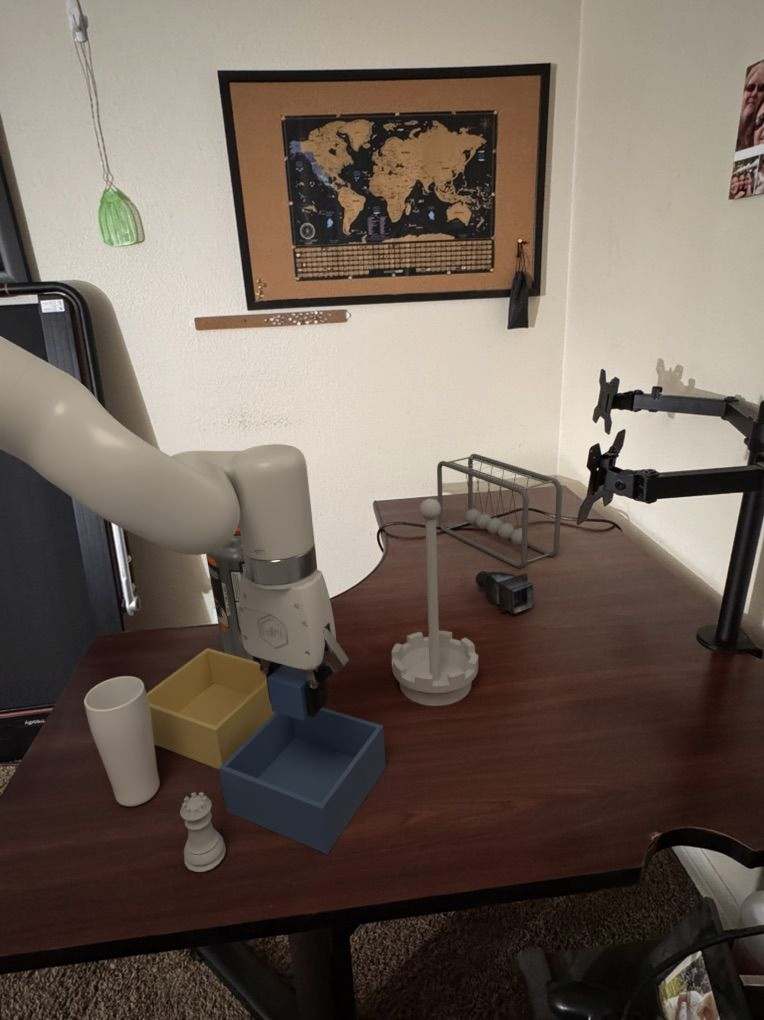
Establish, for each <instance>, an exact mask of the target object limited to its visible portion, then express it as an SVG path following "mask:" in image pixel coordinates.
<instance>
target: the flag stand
mask: <svg viewBox="0 0 764 1020" xmlns="http://www.w3.org/2000/svg"><path fill="white" fill-rule="evenodd" d="M440 512H441V506H440V504H439V502H438V499H434V498H426V499H424V500H423V501H422V502H421V503H420V505H419V513H420V515H421V516H422V518H424V523H425V555H426V557H425V559H426V561H425V562H426V585H427V586H426V587H427V590H426V591H427V623H428V624H427V625H428V636H425V637H424V634H423V633H422V632H421V631H418V632H414V633H411V634H407V635H406V642H405V643H403V644H401V643H397V642H396V643H395V644H394V646H393V647H392V649H391V671H392V675H393V676H394V678H395V679H396V680H397V681H398V682H399V689H400V691H401V693H402V694H403V695H404V696H405V697H406V698H407V699H408V700H411V701H412V702H415V703H417V704H420V705H424V706H428V707H429V706H431V707H442V706H448V705H452V704H455V703H457V702H460V701H461V700H463V699H464V698H465V697H466V696H467V695H468V694H469V693H470V691H471V689H472V682H473V680H474V679H475V678H476V677H477V675H478V671H479V654H477V653H476V647H475V646H476V645H475V643H473V642H472V640H470V639H468V638H467V637H463V638H462V639H460V640H458V639H455V638H453V632H452V631H447V630H440V625H439V623H440V622H439V583H438V582H439V581H438V580H439V579H438V540H437V539H438V537H437V519H438V516H439V514H440Z"/></svg>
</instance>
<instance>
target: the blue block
mask: <svg viewBox="0 0 764 1020" xmlns="http://www.w3.org/2000/svg"><path fill="white" fill-rule="evenodd" d="M315 670H316V671H318V669H317V668H316V669H315ZM267 680H268V687H269V694H270V701H271V708H272V711H274V712H277V713H280V714H283V715H287V716H290V717H293V718H296V719H299V720H302V721H305V720H306V718H307V717H308V713H307V705H306V697H305V687H306V686H307V685H308V682H307V679H306V676H305V673H304V670H302V669H298V668H294V667H290V666H287V665H283V664H282V665H281V666H280V667H279V668H278V669H277V670H276V671H275V672H274V673H273V674H272V675H270V676H269V677H268V678H267Z"/></svg>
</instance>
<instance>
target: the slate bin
mask: <svg viewBox="0 0 764 1020" xmlns="http://www.w3.org/2000/svg"><path fill="white" fill-rule="evenodd" d="M386 764H387V763H386V749H385V731H384V725H383V724H378V723H375V722H372V721H369V720H365V719H362V718H358V717H355V716H352V715H350V714H346V713H342V712H340V711H336V710H332V709H329V708H325V707H323V708H321V709H320V710H319V712H318V713H317V714H316V715H315V716H314V717H311V716H308V717H307V718H306V720H305V721H302V720H299V719H296V718H293V717H290V716H287V715H283V714H280V713H277V712H275V713H274V714H273V715H272V716H271V717H270V718H269V719H268V720H267V721H266V722H265V723H264V724H263V725H262V726H261V727H260V728H259V729H258V730H257V731H256V732H255V733H254V734H253V735H252V736H251V737H250V738H249V739H248V740H247V741H246V742H245V743H244V744H243V745H242V746H241V747H240V748H239V749H238V750H237V751H236V752H235V753H234V754H233V755H232V756H231V757H230V758H229V759H228V760H227V761H226V762H225V763H224V764H223V765H222V766H221V767H220V768H219V769H218V772H219V777H220V783H221V789H222V794H223V800H224V805H225V809H226V813H228V814H231V815H233V816H235V817H238V818H241V819H243V820H245V821H247V822H250V823H252V824H254V825H257V826H259V827H262V828H264V829H267V830H268V831H271V832H273V833H276V834H278V835H280V836H282V837H285V838H288V839H290V840H293V842H296V843H299V844H302V845H304V846H306V847H309V848H311V849H313V850H316V851H318V852H320V853H323V854H325V855H328V854H329V853H330V851H331V850H332V849H333V847H334V845H335V844H336V842H337V841H338V840H339V838H340V837H341V835H342V834H343V832H344V831H345V829H346V828H347V826H348V825H349V823H351V820H352V819H353V817H354V816H355V815H356V813H357V811H358V810H359V808H361V805H362V804H363V802H364V801H365V799H366V798H367V796H368V795H369V793H370V792H371V791H372V789H373V787H374V786H375V785H376V783H377V781H378V780H379V779H380V777H381V776H382V774H383V773H384V771H385V770H386V768H387V765H386Z"/></svg>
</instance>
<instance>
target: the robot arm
mask: <svg viewBox="0 0 764 1020" xmlns="http://www.w3.org/2000/svg"><path fill="white" fill-rule="evenodd" d="M0 450H1V451H3V452H5V453H7V454H9V455H11V456H13V457H15V458H17V459H19V460H20V461H22V462H24V463H25V464H27V465H28V466H29V467H31V468H33V470H34V471H36V472H37V473H38V474H39V475H40V476H41V477H43V478H44V479H45V480H46V481H48V482H49V483H50V484H52V485H54V486H55V487H56V488H58V489H60V490H61V491H62V492H64V493H65V494H66V495H67V496H69V497H71V498H72V499H73V500H75V501H76V502H78V504H80V505H82V506H83V507H84V508H86V509H87V510H89V511H90V512H92V513H94V514H95V515H97V516H98V517H101V518H102V519H104V520H106V521H108V522H110V524H113V525H115V526H117V527H119V528H121V529H123V530H125V531H127V532H129V533H132V534H134V535H136V536H138V537H140V538H143V539H144V540H146V541H148V542H150V543H153V544H155V545H157V546H159V547H162V548H163V549H167V550H169V551H173V552H175V553H179V554H183V555H189V556H190V555H192V556H201V555H206V554H208V553H211V552H214V551H216V550H218V549H220V548H222V547H223V546H224V545H225V544H227V543H228V542H229V541H230V539H231V538H232V537H233V536H234V534H235V532H236V530H237V528H238V525H239V526H240V533H241V540H242V545H241V546H240V547H239V550H238V553H239V556H241V557H244V561H245V568H246V570H245V571H244V572H243V573H242V574H241V580H240V590H239V613H240V626H241V635H240V637H239V641H240V643H241V644H242V645H243V646H244V649H245V650H246V652H248V653H249V654H250V655H252V656H253V657H254V658H255V660H256V661H257V662H258V663H259V664H260V671H261V672H262V673H263V674H265V675H266V679H267V678H268V677H269V676H270V675H272V674H273V673H274V672H275V671H276V670H277V669H278V668H279V667H280V666H281V665H282V664H283V665H287V666H290V667H294V668H298V669H302V670H304V673H305V676H306V679H307V682H308V685H307V686H306V687H305V697H306V705H307V713H308V716H311V717H314V716H315V715H316V714H317V713H318V712H319V710H320V709H321V708H325V706H326V705H327V703H328V699H329V697H328V687H327V679H328V678H330V677H331V676H332V675H335V674H337V673H339V672H341V671H343V670H344V669H346V667H347V666H348V665H349V664H350V658H349V657H348V655H347V654H346V653H345V651H344V650H343V648H342V647H341V645H340V644H339V643H338V641H337V635H336V633H337V631H336V625H335V624H336V623H335V618H334V613H333V606H332V601H331V598H330V594H329V591H328V587H327V583H326V580H325V578H324V574H323V571H321V570H320V569H318V562H317V553H316V544H315V531H314V524H313V514H312V503H311V494H310V485H309V473H308V466H307V460H306V457H305V455H304V453H303V452H302V451H301V450H300V449H299V448H298V447H296V446H293V445H288V444H283V443H282V444H281V443H279V444H278V443H274V444H273V443H272V444H271V443H270V444H262V445H261V444H260V445H257V446H252V447H248V448H246V449H243V450H188V451H182V452H177V453H175V454H173V455H169V454H168V453H165V452H164V451H162V450H160V449H159V448H157V447H156V446H153V445H152V444H150V443H149V442H147V441H145V440H144V439H142V438H141V437H139V436H138V435H137V434H135V433H134V432H132V431H131V430H130V429H128V428H127V427H126V426H124V424H122V423H121V422H119V421H118V420H117V419H116V418H114V417H113V415H111V414H110V413H109V411H108V410H107V409H106V408H105V407H104V406H103V405H102V403H100V402H99V400H98V398H96V396H95V395H94V394H93V393H92V392H91V390H89V389H88V388H87V387H86V386H85V385H84V384H82V382H80V381H79V380H78V379H77V378H75V377H74V376H72V375H71V374H69V373H67V372H65V371H64V370H62V369H60V368H58V367H57V366H54V365H53V364H51V363H49V362H47V361H46V360H44V359H42V358H40V357H38V356H36V355H35V354H33V353H31V352H30V351H28V350H26V349H24V348H22V347H21V346H19V345H17V344H16V343H14V342H12V341H10V340H9V339H6V338H5V337H3V336H1V335H0ZM325 655H326V656H327V658H328V659H329V660H328V661H327V658H326V656H325ZM316 668H317V669H318V671H316V670H315V669H316ZM267 686H268V680H267ZM268 693H269V687H268ZM269 700H270V694H269ZM270 704H271V701H270Z"/></svg>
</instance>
